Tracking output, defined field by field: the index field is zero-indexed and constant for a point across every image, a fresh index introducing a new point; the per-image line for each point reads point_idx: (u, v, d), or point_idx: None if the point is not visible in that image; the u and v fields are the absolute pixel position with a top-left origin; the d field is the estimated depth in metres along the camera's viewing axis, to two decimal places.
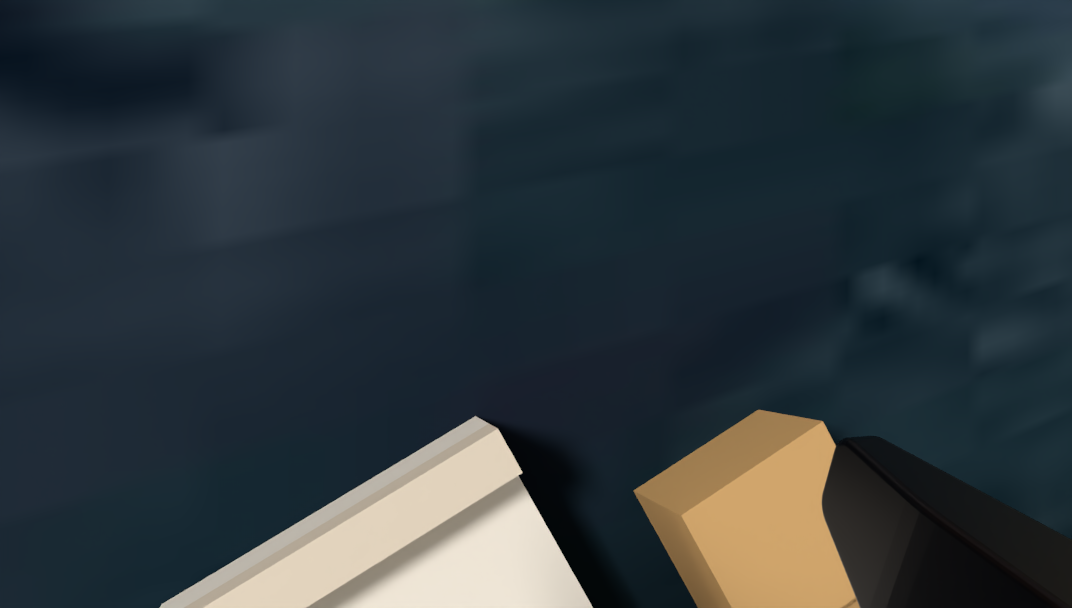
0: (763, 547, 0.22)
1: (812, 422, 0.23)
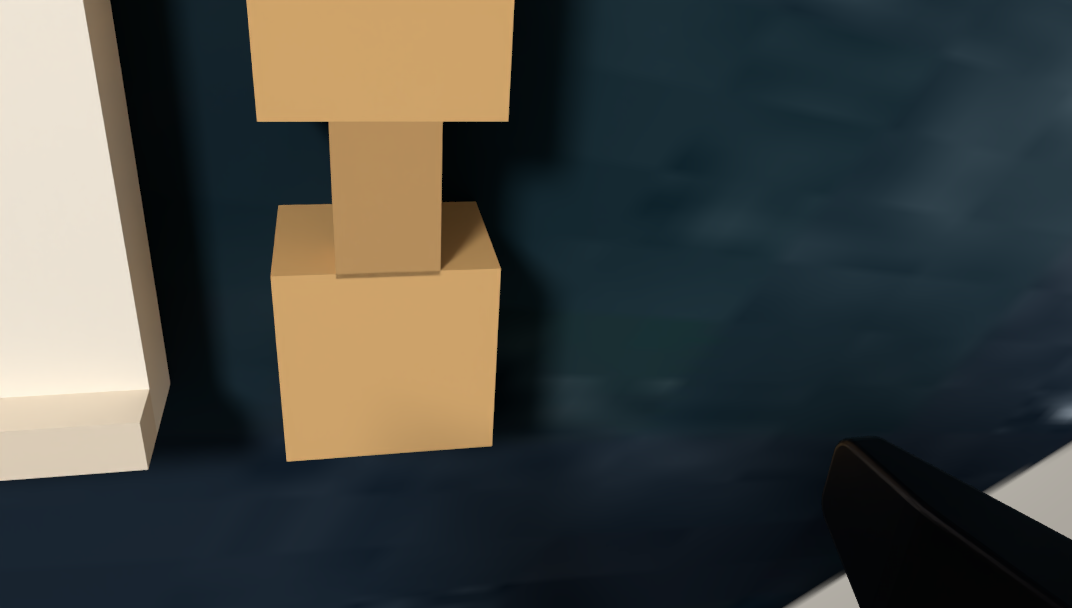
0: None
1: None
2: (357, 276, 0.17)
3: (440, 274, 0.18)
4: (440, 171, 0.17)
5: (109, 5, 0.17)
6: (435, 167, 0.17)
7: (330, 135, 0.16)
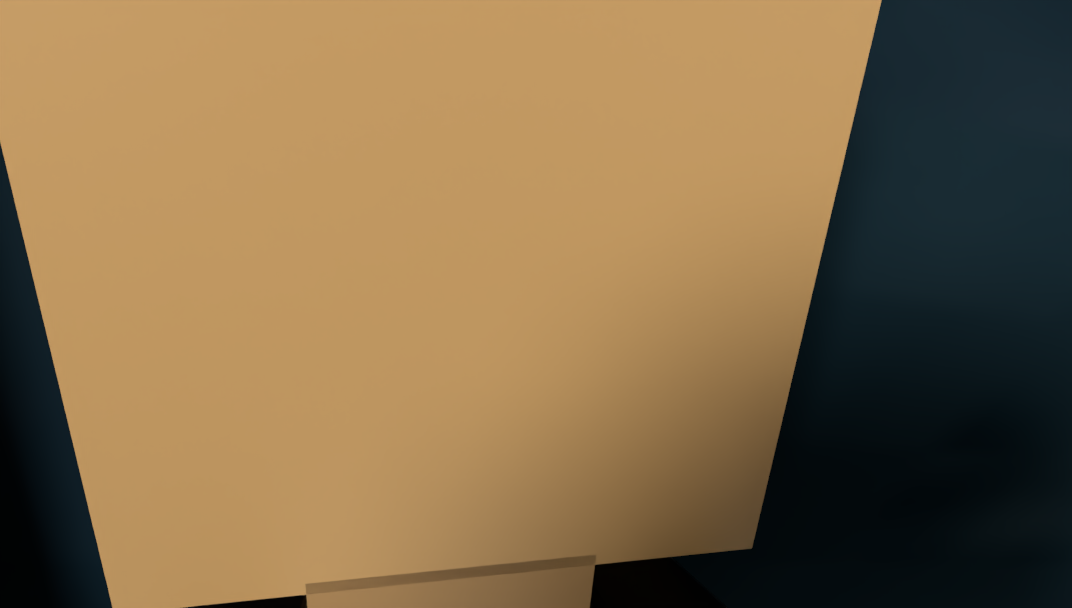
0: (323, 248, 0.05)
1: None
2: None
3: None
4: None
5: None
6: None
7: None
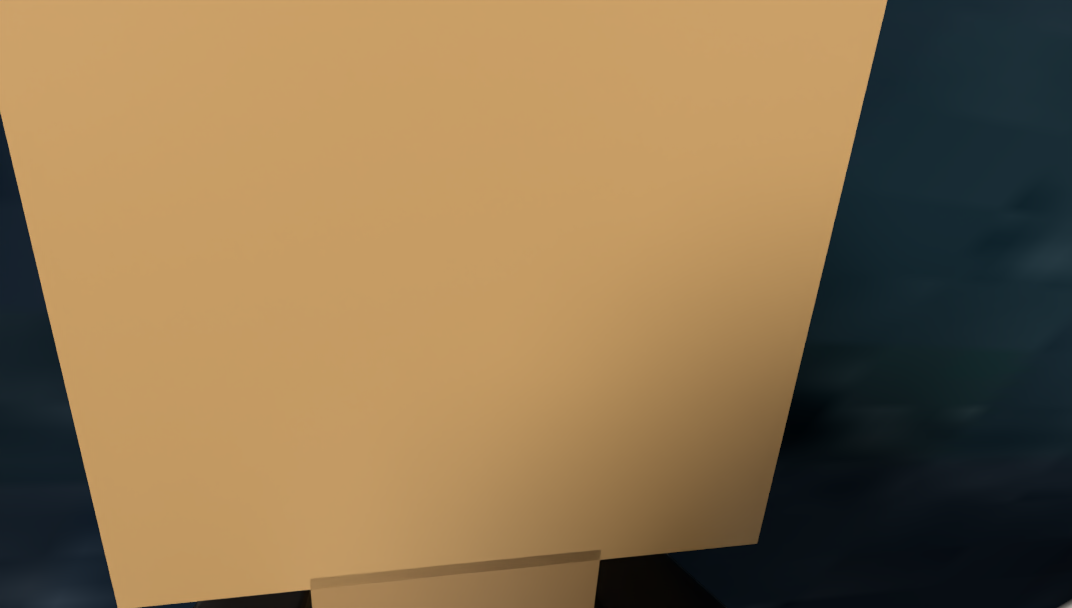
0: (328, 240, 0.05)
1: None
2: None
3: None
4: None
5: None
6: None
7: None
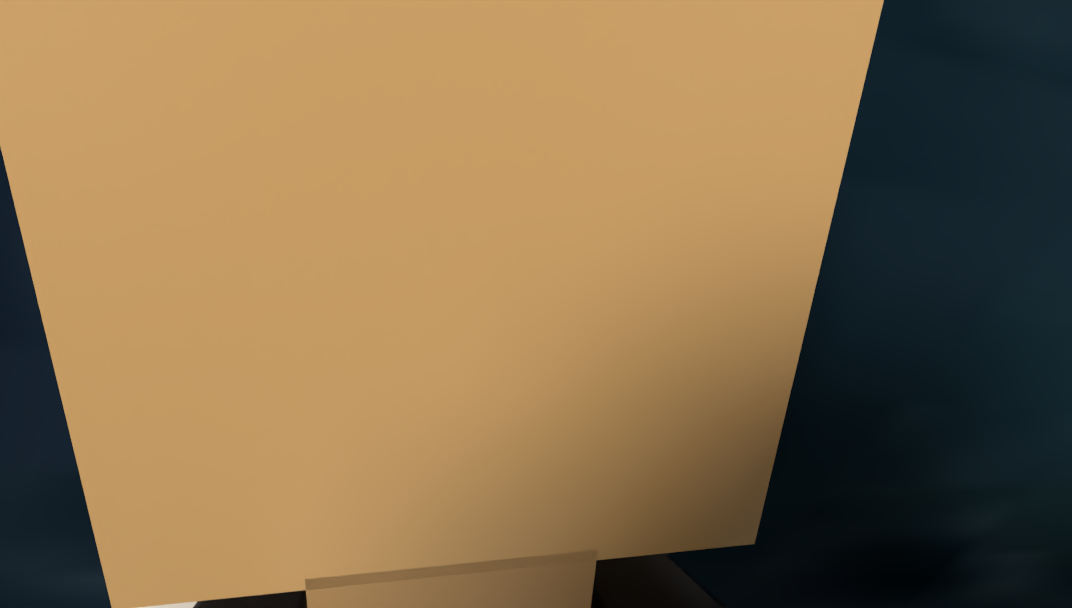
0: (321, 240, 0.05)
1: None
2: None
3: None
4: None
5: None
6: None
7: None
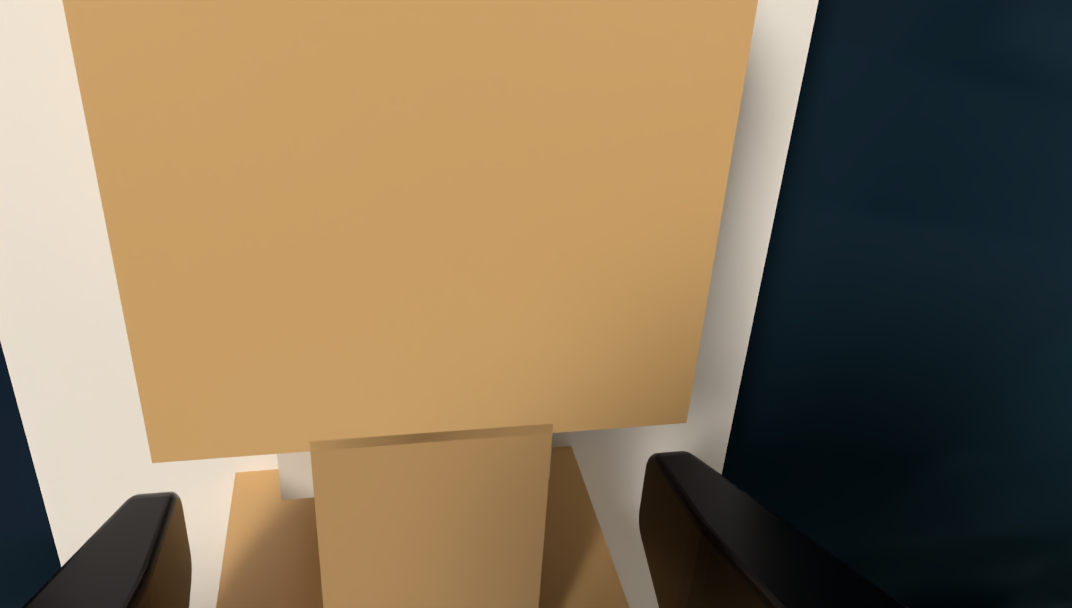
0: (323, 147, 0.06)
1: None
2: None
3: None
4: (543, 519, 0.08)
5: None
6: (533, 511, 0.08)
7: (315, 475, 0.07)
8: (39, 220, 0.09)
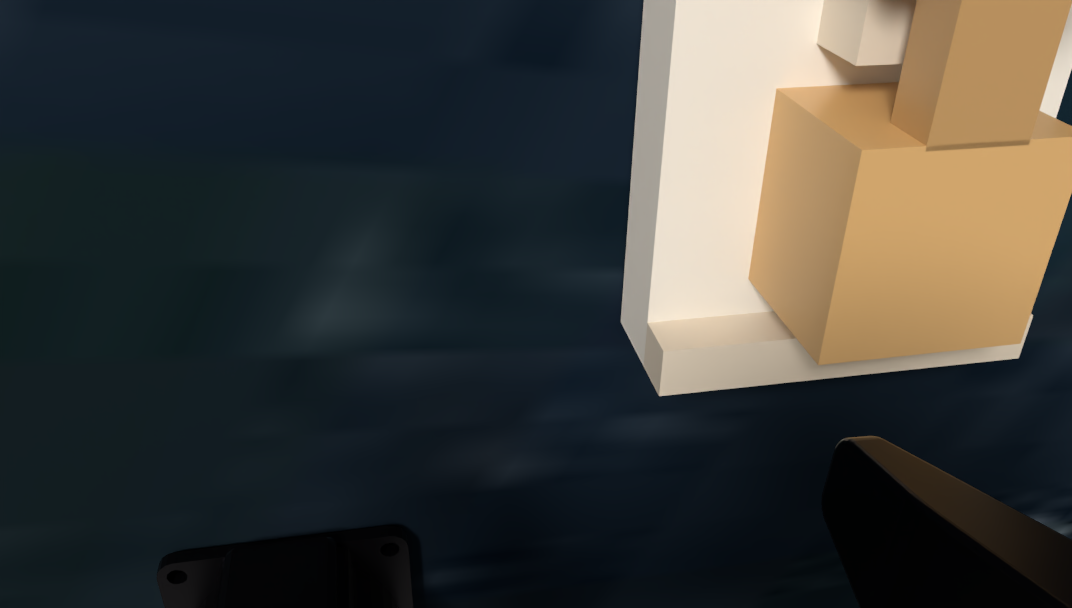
0: None
1: None
2: (943, 148, 0.16)
3: (1028, 144, 0.16)
4: (1066, 19, 0.15)
5: None
6: (1060, 15, 0.15)
7: None
8: None
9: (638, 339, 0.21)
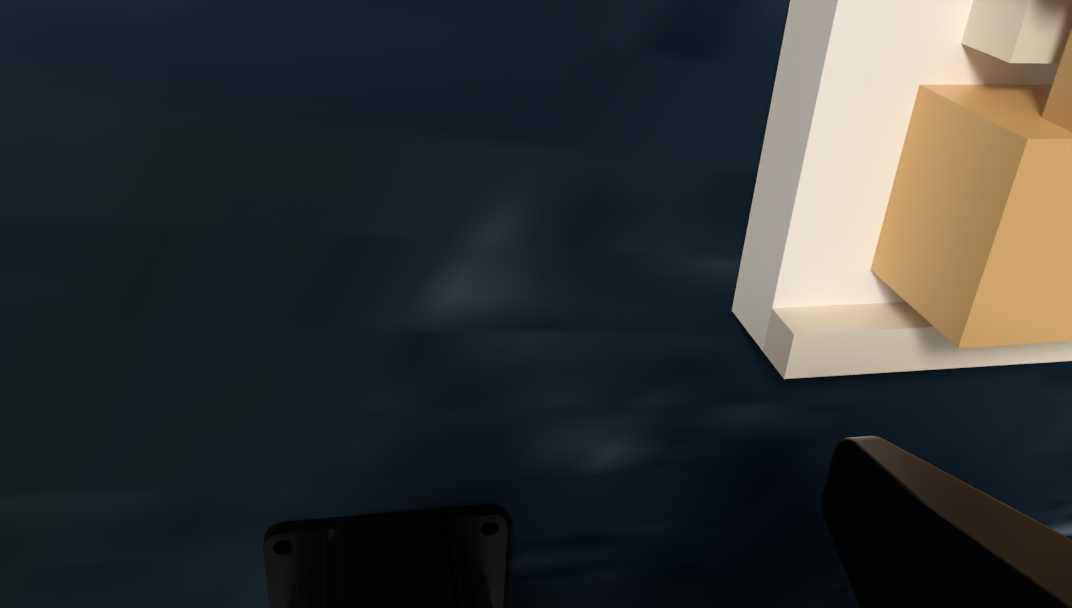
0: None
1: None
2: None
3: None
4: None
5: None
6: None
7: None
8: None
9: (757, 325, 0.22)
